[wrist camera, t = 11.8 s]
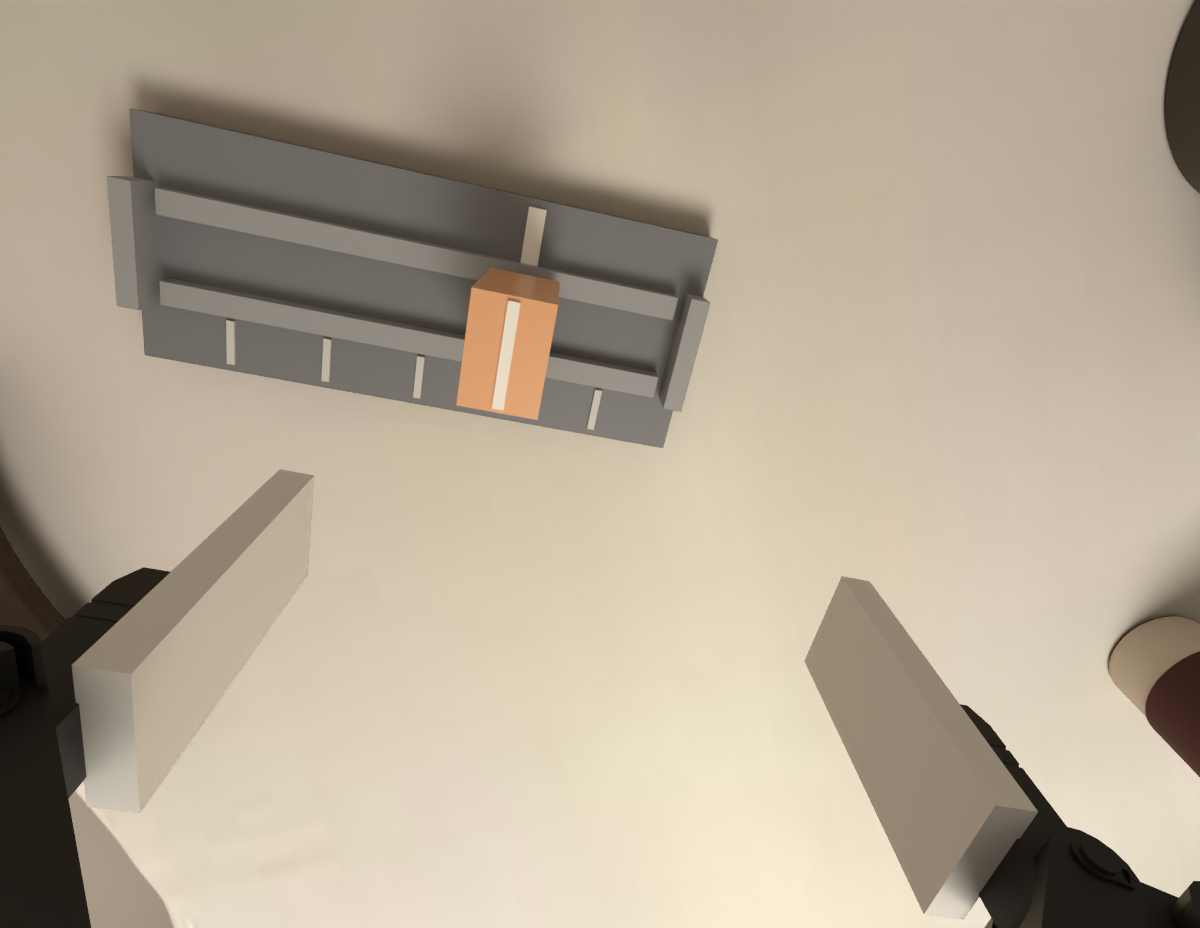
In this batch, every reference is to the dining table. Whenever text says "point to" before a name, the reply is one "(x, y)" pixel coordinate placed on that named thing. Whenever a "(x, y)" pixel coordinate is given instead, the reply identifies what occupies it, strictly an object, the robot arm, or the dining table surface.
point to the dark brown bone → (23, 596)
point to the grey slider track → (393, 277)
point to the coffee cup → (1164, 680)
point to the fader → (508, 343)
